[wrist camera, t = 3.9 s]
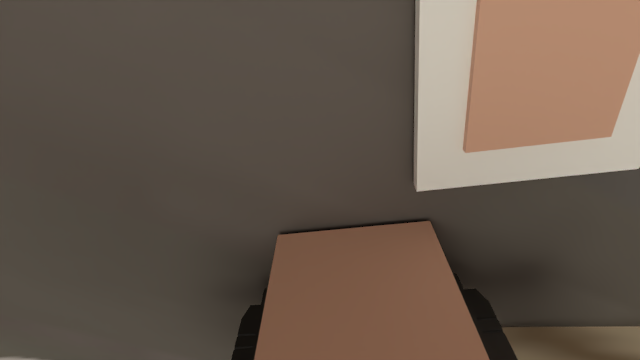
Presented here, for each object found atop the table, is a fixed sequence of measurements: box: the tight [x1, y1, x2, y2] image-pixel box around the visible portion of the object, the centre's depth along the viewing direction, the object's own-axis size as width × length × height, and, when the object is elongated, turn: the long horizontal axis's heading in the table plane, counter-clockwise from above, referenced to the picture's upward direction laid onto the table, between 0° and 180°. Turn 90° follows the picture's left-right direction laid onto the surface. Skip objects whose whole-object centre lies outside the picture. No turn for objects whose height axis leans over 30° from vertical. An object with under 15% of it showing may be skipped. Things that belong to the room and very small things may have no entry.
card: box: [414, 0, 640, 192], centre depth 8 cm, size 6×6×1 cm
